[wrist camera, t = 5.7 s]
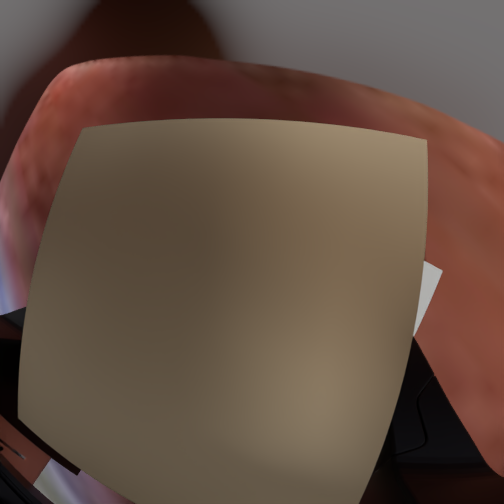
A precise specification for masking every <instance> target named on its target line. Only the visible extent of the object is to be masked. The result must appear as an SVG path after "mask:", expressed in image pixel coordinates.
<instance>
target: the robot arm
mask: <svg viewBox="0 0 504 504" xmlns="http://www.w3.org/2000/svg"><path fill="white" fill-rule="evenodd" d="M25 313H26V307H24V308H21V309H18V310H16V311H13V312H10V313H7V314H4V315H0V504H54V503H52V502H51V501H50V500H49V499H48V498H47V497H45V496H44V495H43V494H42V493H41V492H40V491H39V490H37V489H36V488H35V487H34V486H33V484H34V482H35V481H36V479H37V478H38V477H39V475H40V474H41V472H42V471H43V469H44V468H45V466H46V465H47V463H48V462H49V460H50V459H51V458H52V459H54V460H55V461H56V462H58V463H59V464H60V465H62V466H63V467H65V468H66V469H68V470H69V471H71V472H72V473H74V474H75V475H78V474H79V472H80V471H81V469H79V468H78V467H77V466H75V465H74V464H72V463H71V462H70V461H68V460H67V459H66V458H64V457H63V456H62V455H61V454H59V453H58V452H57V451H55V450H54V449H53V448H52V447H50V446H49V445H48V444H47V443H46V442H44V441H43V440H42V439H41V438H40V437H39V436H37V435H36V434H35V433H34V432H33V431H32V430H31V429H29V428H28V427H27V426H26V425H25V424H24V423H23V422H22V421H21V420H20V419H19V418H18V384H19V366H20V354H21V344H22V335H23V327H24V320H25ZM359 504H504V477H502V476H500V475H498V474H497V473H496V472H494V471H493V470H492V469H491V468H490V467H489V465H488V464H487V463H486V461H485V460H484V458H483V457H482V455H481V453H480V452H479V450H478V448H477V447H476V445H475V443H474V442H473V440H472V438H471V437H470V435H469V433H468V432H467V430H466V429H465V427H464V425H463V424H462V422H461V421H460V419H459V417H458V415H457V414H456V412H455V410H454V409H453V407H452V406H451V404H450V402H449V400H448V398H447V397H446V395H445V393H444V391H443V389H442V387H441V385H440V384H439V382H438V380H437V378H436V376H434V372H433V370H432V369H431V367H430V365H429V363H428V361H427V359H426V358H425V356H424V354H423V352H422V350H421V349H420V347H419V345H418V343H417V341H416V340H415V338H414V336H413V338H412V343H411V348H410V352H409V357H408V361H407V366H406V370H405V374H404V378H403V382H402V385H401V389H400V393H399V396H398V400H397V403H396V407H395V410H394V413H393V417H392V420H391V423H390V426H389V429H388V432H387V435H386V438H385V441H384V443H383V446H382V449H381V452H380V454H379V457H378V460H377V462H376V465H375V467H374V470H373V472H372V475H371V477H370V479H369V482H368V484H367V486H366V489H365V491H364V493H363V495H362V498H361V500H360V502H359Z"/></svg>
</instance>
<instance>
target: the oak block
mask: <svg viewBox="0 0 504 504" xmlns="http://www.w3.org/2000/svg"><path fill="white" fill-rule="evenodd" d="M427 208H428V157H427V140H424V139H420V138H415V137H410V136H405V135H399V134H394V133H388V132H382V131H376V130H369V129H363V128H355V127H348V126H340V125H331V124H322V123H311V122H299V121H285V120H267V119H234V118H207V119H174V120H156V121H142V122H130V123H120V124H111V125H102V126H95V127H87V128H83V129H82V131H81V133H80V135H79V138H78V140H77V142H76V144H75V146H74V149H73V151H72V153H71V156H70V158H69V161H68V163H67V166H66V168H65V171H64V173H63V176H62V178H61V181H60V184H59V186H58V189H57V192H56V195H55V198H54V201H53V203H52V206H51V210H50V213H49V216H48V219H47V222H46V226H45V229H44V232H43V236H42V239H41V243H40V247H39V251H38V255H37V259H36V263H35V267H34V271H33V276H32V281H31V286H30V291H29V296H28V301H27V307H26V313H25V320H24V327H23V335H22V344H21V354H20V366H19V384H18V418H19V419H20V420H21V421H22V422H23V423H24V424H25V425H26V426H27V427H28V428H29V429H31V430H32V431H33V432H34V433H35V434H36V435H37V436H39V437H40V438H41V439H42V440H43V441H44V442H46V443H47V444H48V445H49V446H50V447H52V448H53V449H54V450H55V451H57V452H58V453H59V454H61V455H62V456H63V457H64V458H66V459H67V460H68V461H70V462H71V463H72V464H74V465H75V466H77V467H78V468H79V469H81V470H82V471H84V472H85V473H87V474H88V475H90V476H91V477H93V478H94V479H96V480H97V481H99V482H100V483H102V484H103V485H105V486H106V487H108V488H110V489H111V490H113V491H115V492H116V493H118V494H120V495H121V496H123V497H125V498H127V499H129V500H130V501H132V502H134V503H136V504H359V502H360V500H361V498H362V495H363V493H364V491H365V489H366V486H367V484H368V482H369V479H370V477H371V475H372V472H373V470H374V467H375V465H376V462H377V460H378V457H379V454H380V452H381V449H382V446H383V443H384V441H385V438H386V435H387V432H388V429H389V426H390V423H391V420H392V417H393V413H394V410H395V407H396V403H397V400H398V396H399V393H400V389H401V385H402V382H403V378H404V374H405V370H406V366H407V361H408V357H409V352H410V348H411V343H412V338H413V333H414V328H415V322H416V317H417V311H418V304H419V298H420V291H421V283H422V275H423V266H424V256H425V244H426V230H427Z"/></svg>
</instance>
